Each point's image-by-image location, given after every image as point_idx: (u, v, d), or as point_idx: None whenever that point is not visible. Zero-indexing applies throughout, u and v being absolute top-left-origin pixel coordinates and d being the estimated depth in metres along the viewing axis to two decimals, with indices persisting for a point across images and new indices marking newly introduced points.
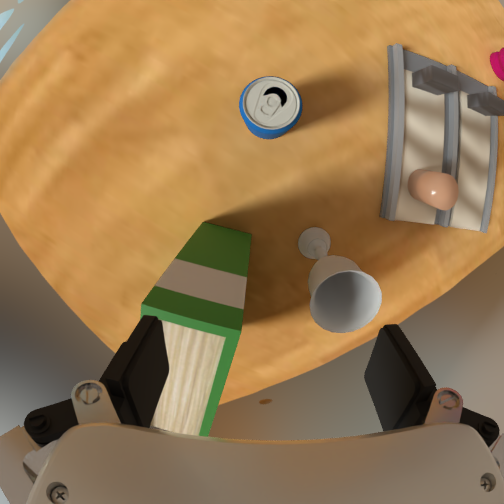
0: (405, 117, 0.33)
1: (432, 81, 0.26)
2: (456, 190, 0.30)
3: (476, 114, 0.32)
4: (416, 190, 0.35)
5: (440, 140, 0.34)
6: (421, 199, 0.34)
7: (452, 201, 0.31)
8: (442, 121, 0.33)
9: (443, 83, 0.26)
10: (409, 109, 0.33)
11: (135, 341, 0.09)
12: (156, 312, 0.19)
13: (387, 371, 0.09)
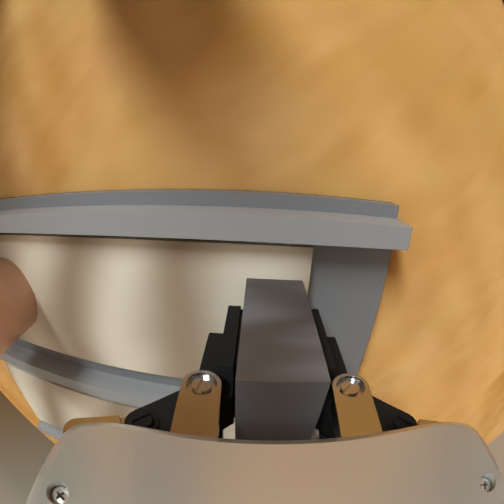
0: (126, 244, 0.12)
1: None
2: None
3: None
4: None
5: (115, 358, 0.14)
6: None
7: None
8: (166, 371, 0.14)
9: (240, 424, 0.07)
10: (157, 261, 0.12)
11: (232, 329, 0.10)
12: None
13: None
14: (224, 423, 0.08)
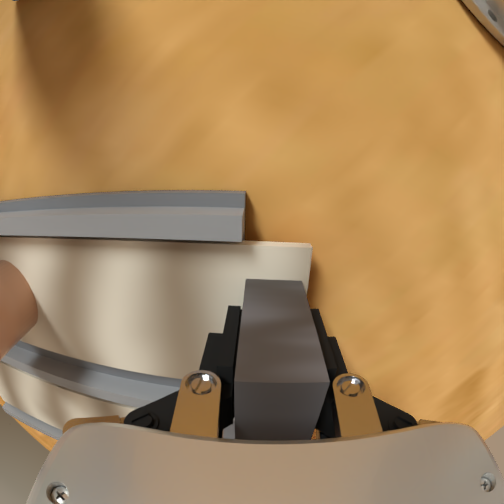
0: (125, 246, 0.12)
1: None
2: None
3: None
4: None
5: (116, 360, 0.14)
6: None
7: None
8: (167, 372, 0.14)
9: (239, 424, 0.07)
10: (156, 262, 0.12)
11: (232, 329, 0.10)
12: None
13: None
14: (224, 423, 0.08)
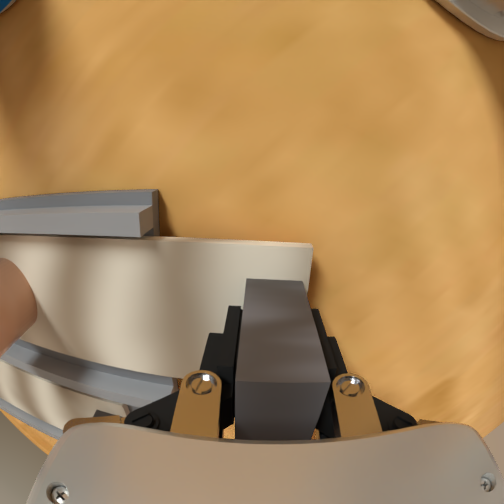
0: (126, 245, 0.12)
1: None
2: None
3: None
4: None
5: (115, 358, 0.14)
6: None
7: None
8: (166, 371, 0.14)
9: (239, 424, 0.07)
10: (156, 261, 0.12)
11: (232, 329, 0.10)
12: None
13: None
14: (224, 423, 0.08)
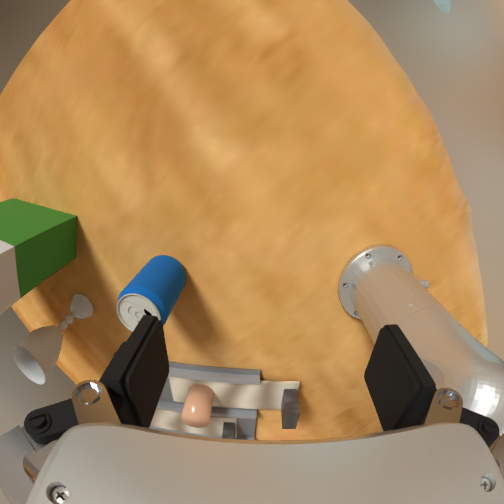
0: None
1: (285, 412, 0.42)
2: (199, 426, 0.42)
3: (221, 427, 0.52)
4: (193, 394, 0.45)
5: (242, 406, 0.49)
6: (187, 398, 0.45)
7: (190, 424, 0.42)
8: (258, 407, 0.49)
9: (285, 419, 0.42)
10: (262, 386, 0.47)
11: (135, 341, 0.09)
12: None
13: (387, 371, 0.09)
14: None
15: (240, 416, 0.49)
